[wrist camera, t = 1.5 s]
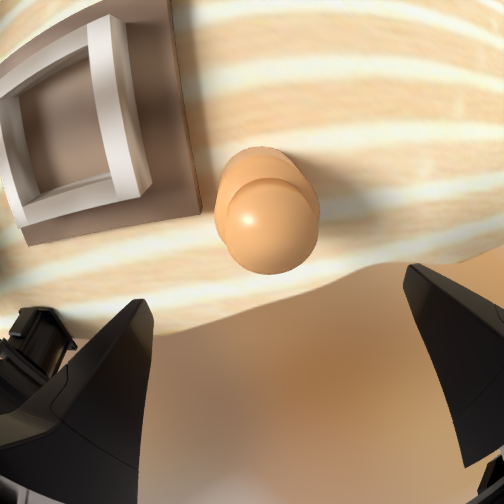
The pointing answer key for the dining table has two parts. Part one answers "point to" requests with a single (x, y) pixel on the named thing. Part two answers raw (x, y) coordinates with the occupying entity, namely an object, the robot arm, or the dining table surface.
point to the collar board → (96, 124)
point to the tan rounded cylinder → (266, 211)
